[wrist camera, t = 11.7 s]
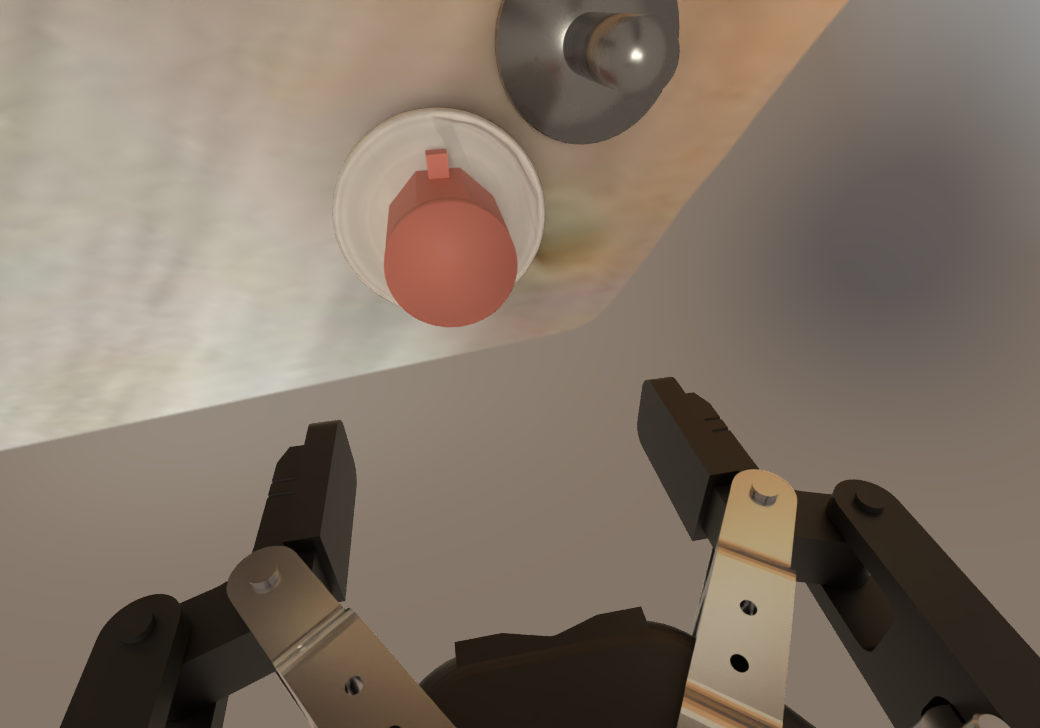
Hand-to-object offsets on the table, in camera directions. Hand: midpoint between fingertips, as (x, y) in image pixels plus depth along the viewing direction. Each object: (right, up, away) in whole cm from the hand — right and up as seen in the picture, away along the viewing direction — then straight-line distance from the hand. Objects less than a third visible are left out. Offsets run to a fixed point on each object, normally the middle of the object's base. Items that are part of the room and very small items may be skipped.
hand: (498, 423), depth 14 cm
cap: (-3, +9, +14) cm, 17 cm away
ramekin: (-4, +12, +18) cm, 23 cm away
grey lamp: (+4, +19, +15) cm, 25 cm away
